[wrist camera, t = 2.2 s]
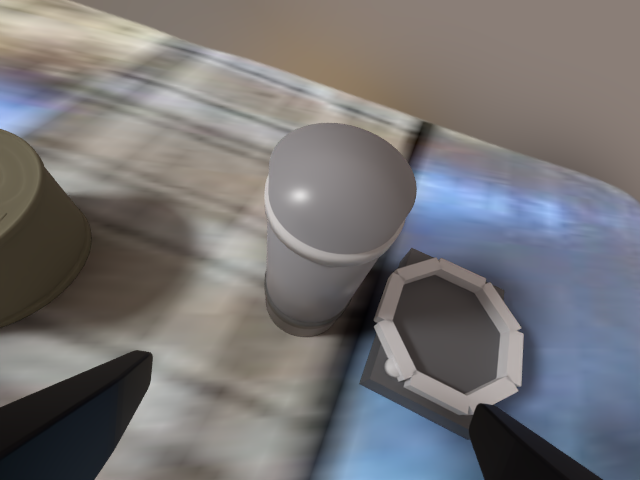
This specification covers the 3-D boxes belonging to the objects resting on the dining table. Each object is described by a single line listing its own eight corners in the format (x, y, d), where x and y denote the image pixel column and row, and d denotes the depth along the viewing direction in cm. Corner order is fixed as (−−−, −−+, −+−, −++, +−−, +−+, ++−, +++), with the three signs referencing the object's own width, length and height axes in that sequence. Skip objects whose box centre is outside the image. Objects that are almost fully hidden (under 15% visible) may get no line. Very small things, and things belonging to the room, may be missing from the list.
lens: (358, 309, 24) (450, 197, 12) (292, 356, 21) (329, 269, 10) (313, 250, 26) (355, 107, 14) (248, 286, 24) (234, 146, 12)
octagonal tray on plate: (481, 446, 20) (518, 449, 17) (346, 377, 21) (359, 368, 18) (496, 306, 26) (525, 291, 23) (390, 256, 27) (405, 236, 24)
